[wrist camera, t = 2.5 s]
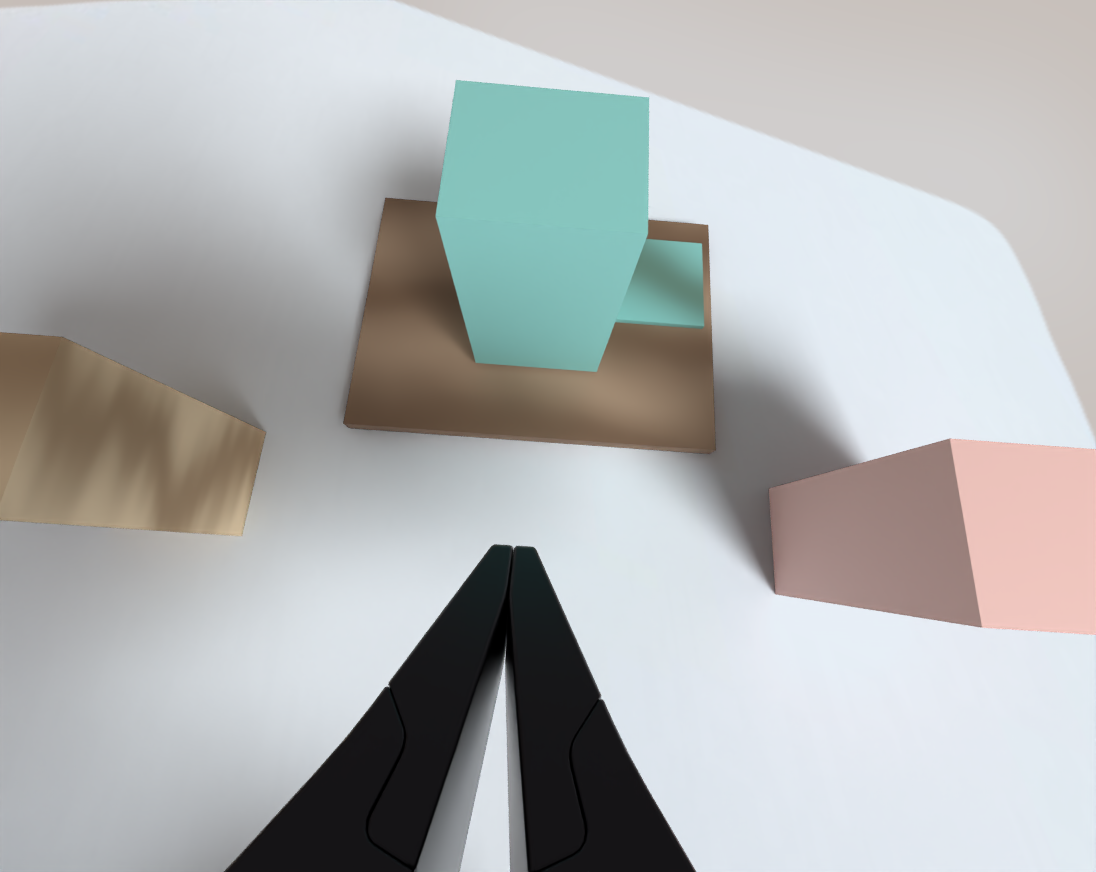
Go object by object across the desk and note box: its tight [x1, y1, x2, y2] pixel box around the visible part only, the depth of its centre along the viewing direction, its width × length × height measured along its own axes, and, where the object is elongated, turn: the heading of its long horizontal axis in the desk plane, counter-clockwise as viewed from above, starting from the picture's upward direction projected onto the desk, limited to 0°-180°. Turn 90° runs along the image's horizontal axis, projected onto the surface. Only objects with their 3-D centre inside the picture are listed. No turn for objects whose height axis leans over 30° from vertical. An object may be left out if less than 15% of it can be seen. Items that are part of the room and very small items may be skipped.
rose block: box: [769, 439, 1096, 635], centre depth 17 cm, size 5×6×10 cm
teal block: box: [436, 80, 649, 372], centre depth 18 cm, size 5×6×10 cm
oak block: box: [0, 332, 266, 536], centre depth 17 cm, size 5×6×10 cm
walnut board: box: [343, 198, 716, 454], centre depth 24 cm, size 13×18×1 cm
